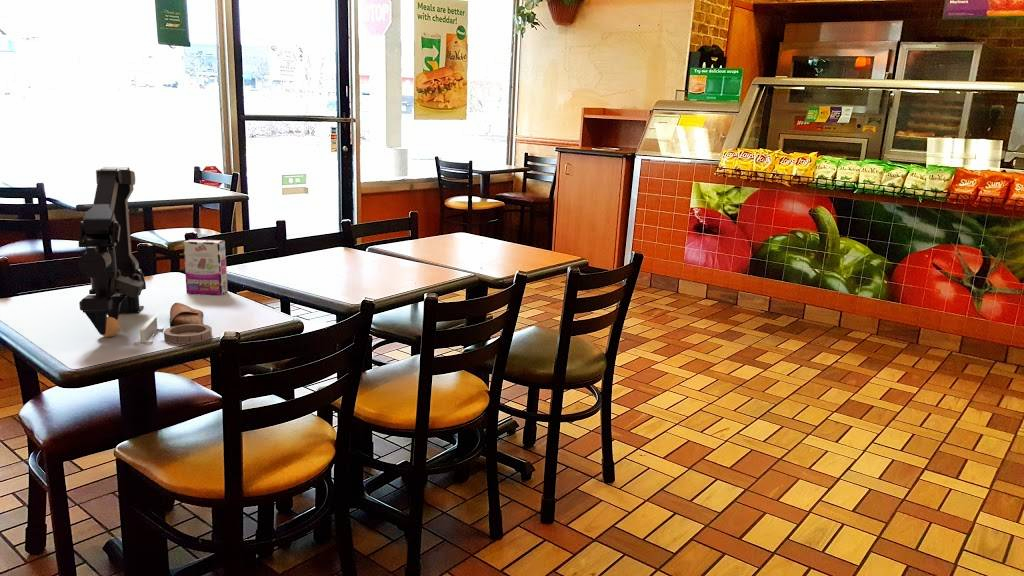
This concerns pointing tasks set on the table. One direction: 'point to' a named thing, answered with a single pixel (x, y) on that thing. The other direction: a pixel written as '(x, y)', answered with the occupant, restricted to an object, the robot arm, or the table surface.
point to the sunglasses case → (184, 315)
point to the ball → (111, 327)
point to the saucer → (187, 334)
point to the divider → (148, 331)
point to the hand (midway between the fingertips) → (108, 329)
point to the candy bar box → (205, 267)
